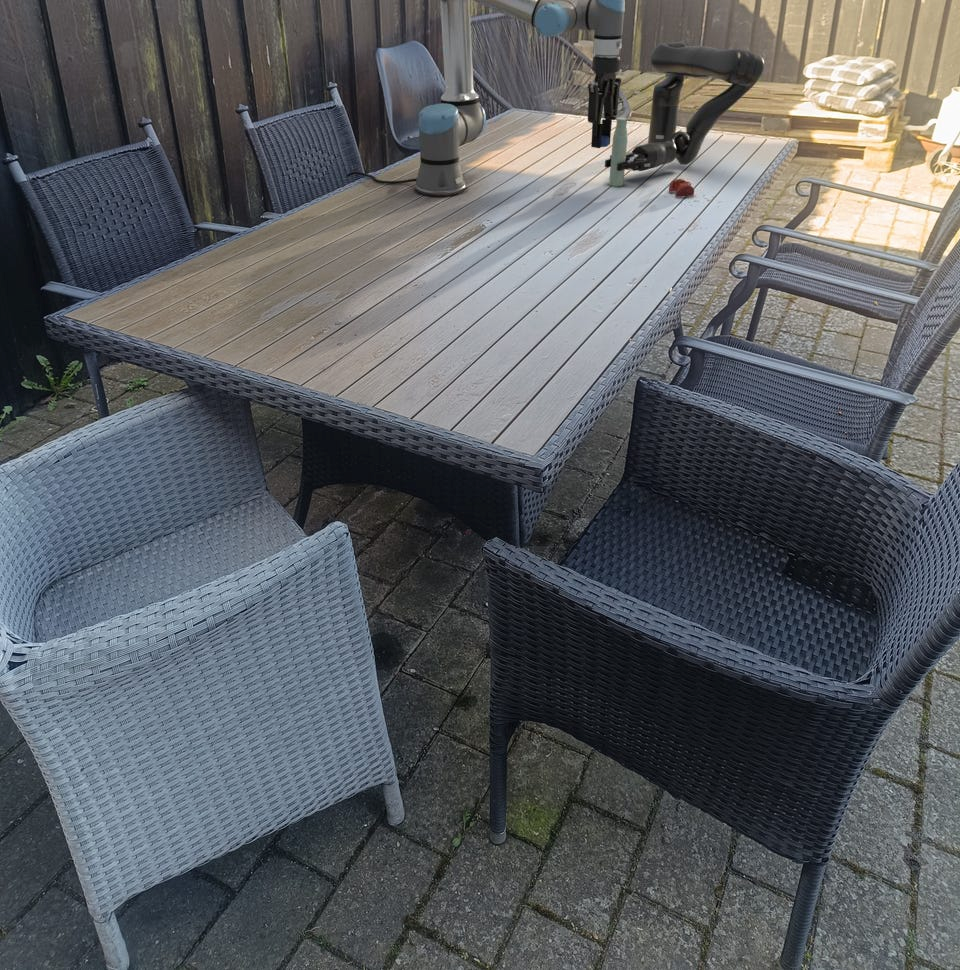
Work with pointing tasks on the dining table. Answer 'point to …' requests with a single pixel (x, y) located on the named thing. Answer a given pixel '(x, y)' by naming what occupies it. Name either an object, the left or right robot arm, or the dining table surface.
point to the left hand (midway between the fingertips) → (600, 145)
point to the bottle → (618, 152)
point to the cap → (604, 141)
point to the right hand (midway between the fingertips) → (611, 165)
